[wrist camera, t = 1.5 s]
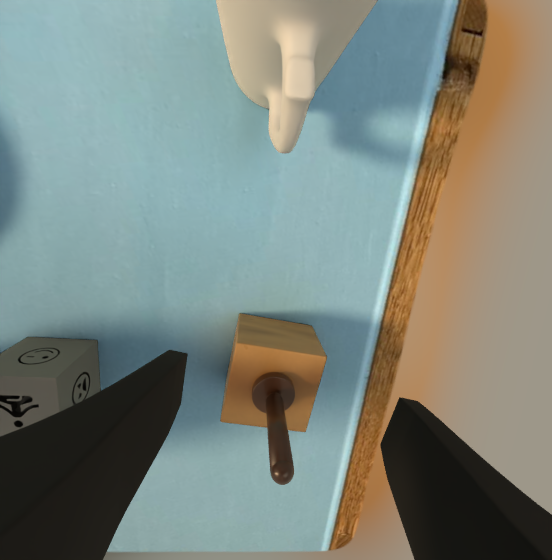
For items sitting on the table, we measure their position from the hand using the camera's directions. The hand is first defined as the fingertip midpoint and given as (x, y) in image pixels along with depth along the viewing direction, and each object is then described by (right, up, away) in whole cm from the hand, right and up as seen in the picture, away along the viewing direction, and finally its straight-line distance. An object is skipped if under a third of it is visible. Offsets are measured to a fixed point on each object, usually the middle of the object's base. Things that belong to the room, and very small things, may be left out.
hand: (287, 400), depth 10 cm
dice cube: (-17, -3, +13) cm, 22 cm away
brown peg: (-1, -3, +10) cm, 10 cm away
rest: (-1, -2, +14) cm, 15 cm away
